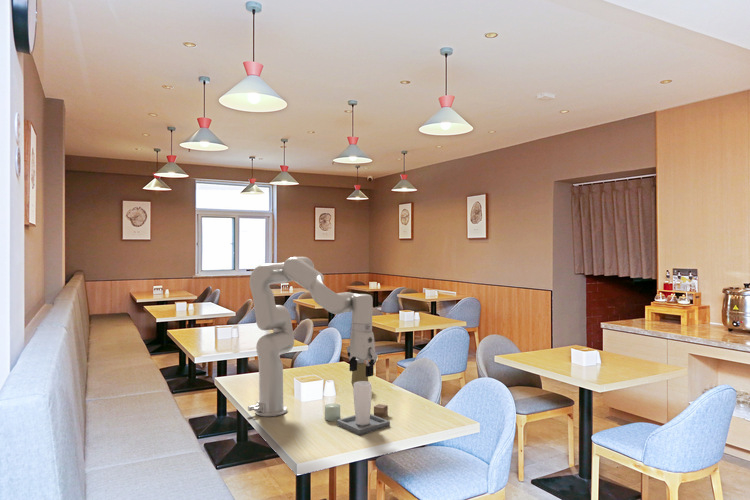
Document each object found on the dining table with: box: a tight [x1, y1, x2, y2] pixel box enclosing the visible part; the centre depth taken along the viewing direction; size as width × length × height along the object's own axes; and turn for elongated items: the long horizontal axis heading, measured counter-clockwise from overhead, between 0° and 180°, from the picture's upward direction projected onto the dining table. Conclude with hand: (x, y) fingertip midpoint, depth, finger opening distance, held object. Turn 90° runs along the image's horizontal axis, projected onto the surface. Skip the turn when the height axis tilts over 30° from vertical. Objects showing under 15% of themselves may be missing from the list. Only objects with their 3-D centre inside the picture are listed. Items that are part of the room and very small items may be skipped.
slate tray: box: [336, 413, 391, 436], centre depth 186 cm, size 14×14×2 cm
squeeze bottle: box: [350, 358, 369, 387], centre depth 235 cm, size 8×8×18 cm
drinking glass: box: [352, 381, 373, 426], centre depth 186 cm, size 7×7×15 cm
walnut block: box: [373, 403, 389, 419], centre depth 197 cm, size 4×4×4 cm
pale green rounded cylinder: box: [324, 403, 341, 422], centre depth 194 cm, size 6×6×5 cm
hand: (361, 373), depth 186 cm, fingers open, 9 cm apart
